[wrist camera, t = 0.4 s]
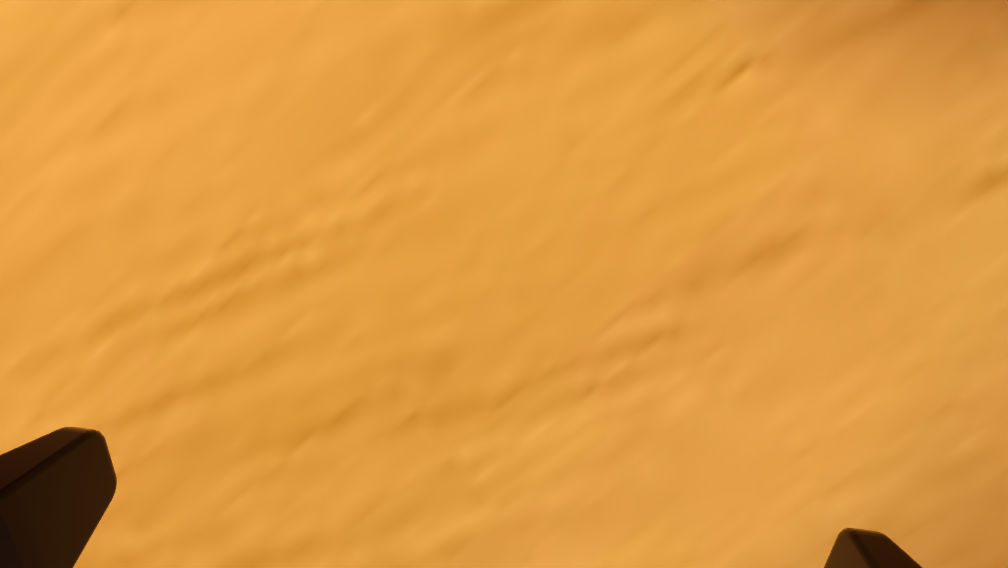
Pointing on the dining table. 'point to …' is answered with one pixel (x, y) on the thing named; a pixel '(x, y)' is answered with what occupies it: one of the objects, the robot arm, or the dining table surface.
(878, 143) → the dining table surface
